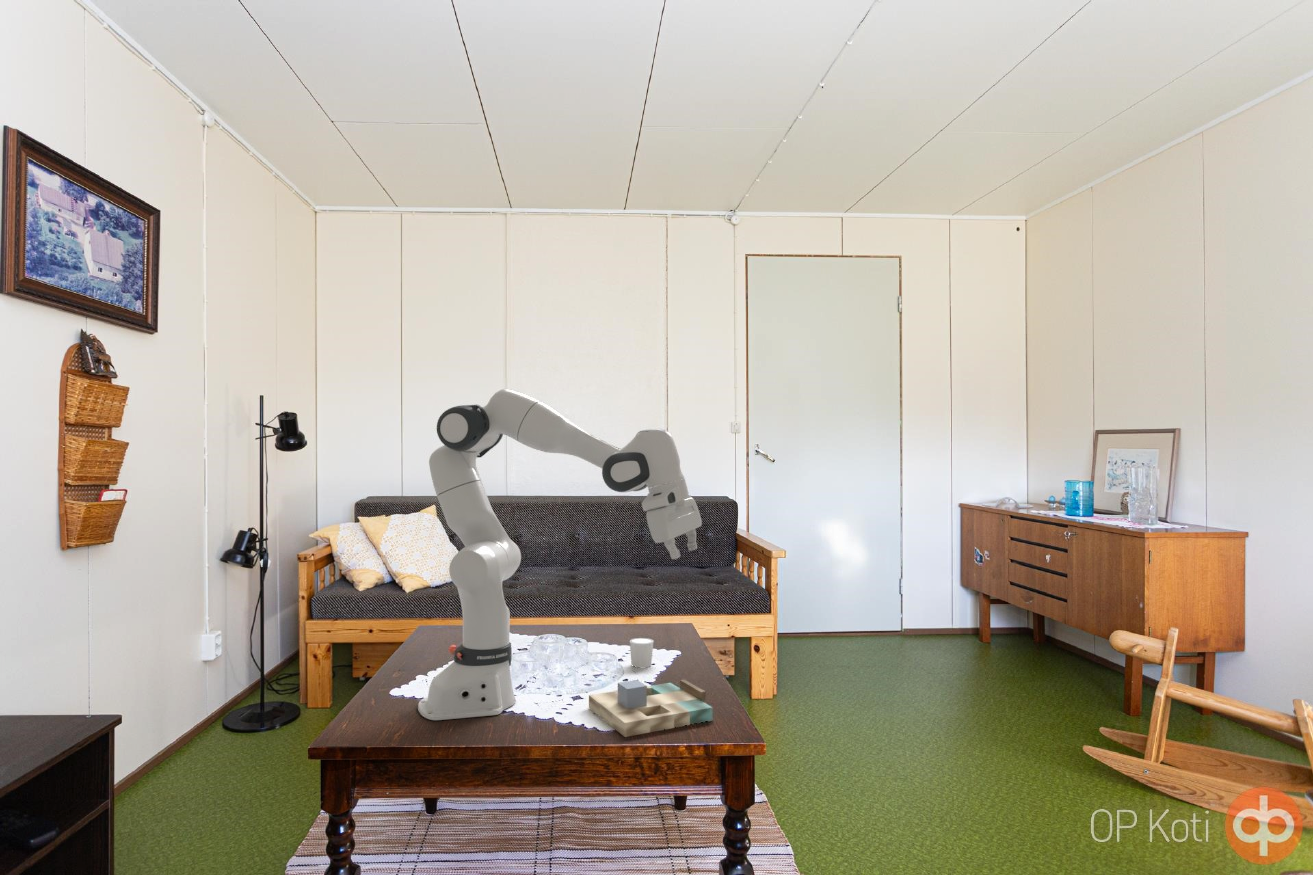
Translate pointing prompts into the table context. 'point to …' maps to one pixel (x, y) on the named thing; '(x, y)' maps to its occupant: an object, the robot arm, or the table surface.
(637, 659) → the shot glass
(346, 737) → the table surface
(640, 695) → the slate block
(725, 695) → the table surface
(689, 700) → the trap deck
